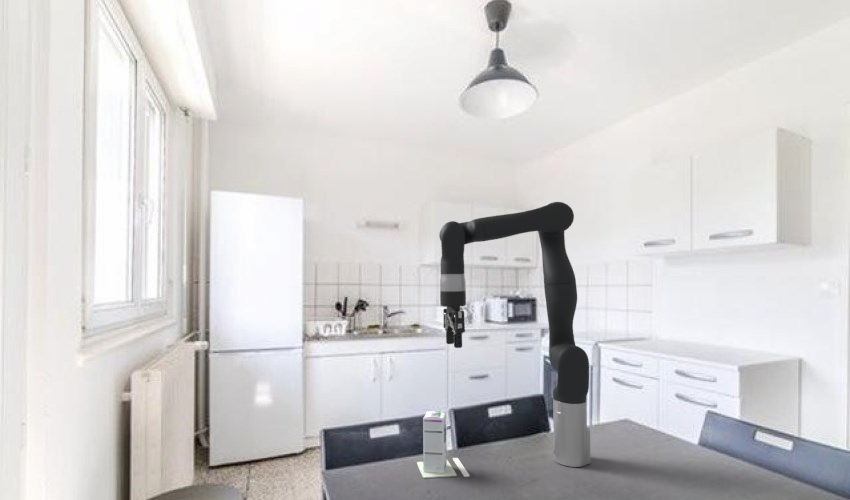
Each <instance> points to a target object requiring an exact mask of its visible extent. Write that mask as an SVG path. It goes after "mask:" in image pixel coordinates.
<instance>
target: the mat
mask: <svg viewBox="0 0 850 500" xmlns="http://www.w3.org/2000/svg"><path fill="white" fill-rule="evenodd" d="M416 464H417V467H418V469H419V472H420V474H421V476H422V478H423V479H433V478H435V479H436V478H447V477H457V473H456V471H455V469H454V468H453V466H452V464H451V463H450V461H449V460H448V459H447V465H446V468H445V471H444V473H429V472H424V471H423V461H417V462H416Z"/></svg>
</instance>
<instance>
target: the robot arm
mask: <svg viewBox="0 0 850 500" xmlns="http://www.w3.org/2000/svg"><path fill="white" fill-rule="evenodd" d="M574 219H575V213H574V211H573V209H572V207H571V206H570V205H569V204H567V203H566V202H563V201H554V202H550V203H548V204H547V205H543V206H540V207H536V208H533V209H530V210H525V211H519V212H514V213H508V214H507V213H506V214H498V215H491V216H486V217H485V216H484V217H480V218H479V217H478V218H474V219H472V220H471V221H464V222H458V221H454V220H453V221H451V220H450V221H448V222H446V223H445V224H444V225H442V227H441V229H440V231H439V234H438V235H439V237H438V238H439V240H440V242H441V243H440V244H441V258H440V279H439V293H440V294H439V299H440V300H439V303H440V306H441V307H446V308H443V310H442V311H443V328H444V330H445V339H446V340H445V341H446V344H448V345H453V347H454V348H455V349H461V348H462V347H463V334H464V333H465V331H466V327H465V324H466V323H465V322H466V321H465V311H464V310H461V307H465V306H466V305H467V301H466V300H467V295H466V294H467V292H466V291H467V290H466V289H467V288H466V287H467V286H466V278H465V259H464V257H465V256H464V255H465V245H468V244H471V243H479V242H480V243H481V242H487V241H492V240H493V241H494V240H499V239H504V238H508V237H512V236H516V235H519V234H520V235H521V234H526V233H530V232H531V233H532V232H537V233H538V237H539V243H540V248H541V256H542V257H541V260H542V273H543V289H544V296H545V297H544V298H545V304H546V315H547V323H548V333H549V334H548V335H549V336H548V338H549V339H548V340H549V341H548V359H549V362H550V365H551V366H552V368H553V369H554V371H556V372H557V381H556V383H557V384H556V386H555V387H554V388H553V390H552V396H553V397H552V402H553V403H552V412H553V413H552V414H553V416H552V418H553V420H552V423H553V460H554V461H555V462H556V463H557V464H560V465H562V466H566V467H572V468H582V467H585V466H587V465H589V464H591V463H592V462H591V430H590V428H589V427H588V421H587V420H588V417H587V415H588V413H587V412H588V411H587V396H588V393H589V388H590V361H589V357H588V355H587V354H588V353H586V350H584V348H582V347H580V346H577V345H576V342H575V336H574V325H573V324H574V318H575V314H576V310H577V303H578V290H577V288H578V287H577V281H576V275H575V272H574V269H573V266H572V263H571V261H570V258H569V256H568V253H567V250H566V240H565V239H566V238H565V232H566V230H568V229H569V228H570V227H571V226H572V225H573V222H574Z"/></svg>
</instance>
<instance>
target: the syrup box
mask: <svg viewBox="0 0 850 500" xmlns="http://www.w3.org/2000/svg"><path fill="white" fill-rule="evenodd" d="M422 420H423V421H422V425H423V427H422V432H423V433H422V437H423V438H422V439H423V441H422V443H423V444H422V449H423V451H422V452H423V454H422V455H423V458H422V460H423V461H422V462H423V471H424V472H429V473H444V471H445V468H446V465H447V460H448V459H447V412H445V411H437V410H436V411H434V410H433V411H431V410H430V411H426V413H425V414H424V416H423V417H422Z"/></svg>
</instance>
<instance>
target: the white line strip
mask: <svg viewBox="0 0 850 500" xmlns="http://www.w3.org/2000/svg"><path fill="white" fill-rule="evenodd" d="M452 460H453V462H454V463H455V465H456V467H457V468H458V470H459V471H460V473H461V475H462V476H463V477H464V478H469V477H470V473H469V472H468V471H467V469H466V468H465V467H464V465H463V464H462V462H461V461H460V459H459V458H458V457H452Z"/></svg>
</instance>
